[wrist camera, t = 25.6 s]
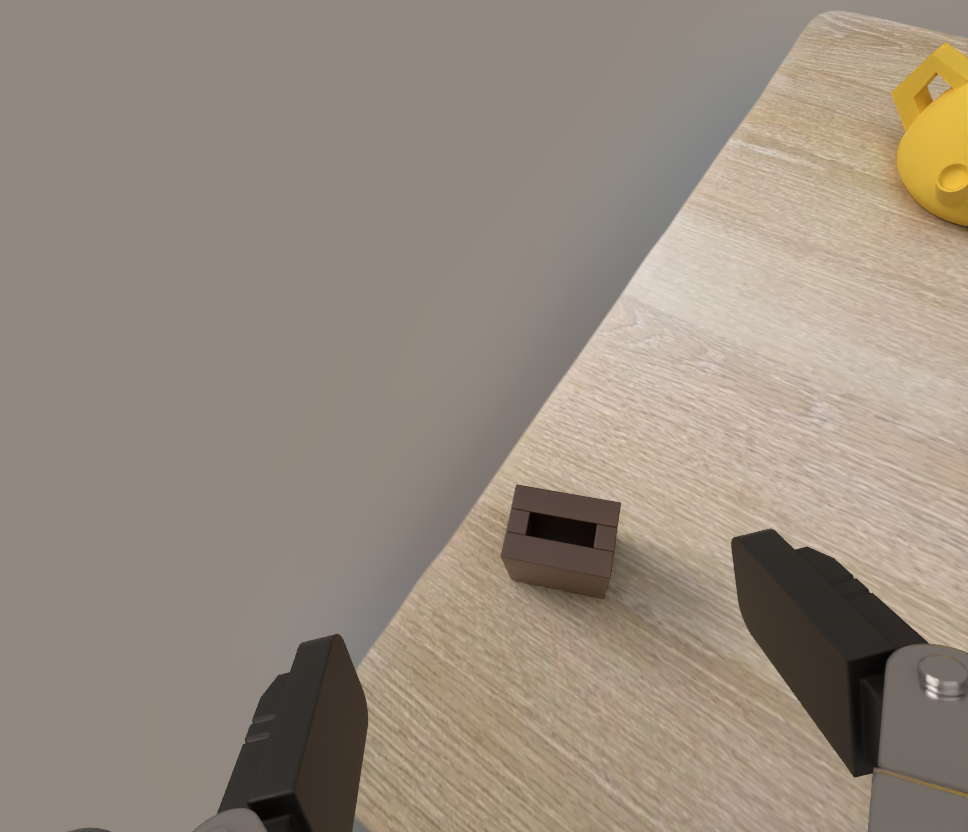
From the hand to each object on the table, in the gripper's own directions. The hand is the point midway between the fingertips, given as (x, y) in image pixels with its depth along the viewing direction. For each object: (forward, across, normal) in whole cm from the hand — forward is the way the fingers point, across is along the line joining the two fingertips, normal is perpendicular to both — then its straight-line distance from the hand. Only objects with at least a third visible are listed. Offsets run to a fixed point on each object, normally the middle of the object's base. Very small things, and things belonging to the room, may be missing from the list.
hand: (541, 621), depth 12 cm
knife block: (+31, -2, +18) cm, 36 cm away
